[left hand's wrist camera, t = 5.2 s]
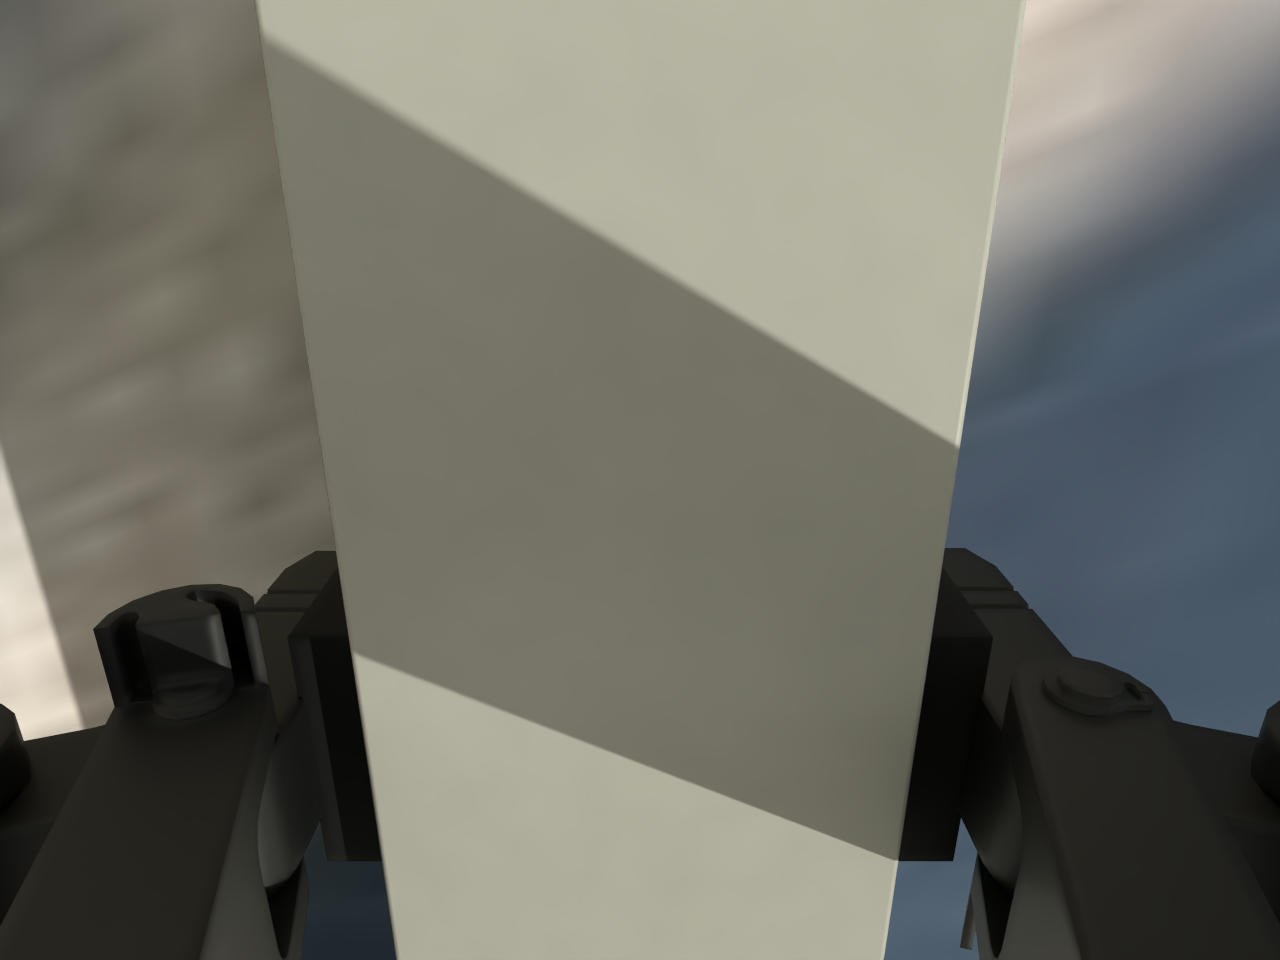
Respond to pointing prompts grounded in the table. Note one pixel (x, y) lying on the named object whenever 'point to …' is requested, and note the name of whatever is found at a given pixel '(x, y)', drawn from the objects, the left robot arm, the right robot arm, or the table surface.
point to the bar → (640, 443)
